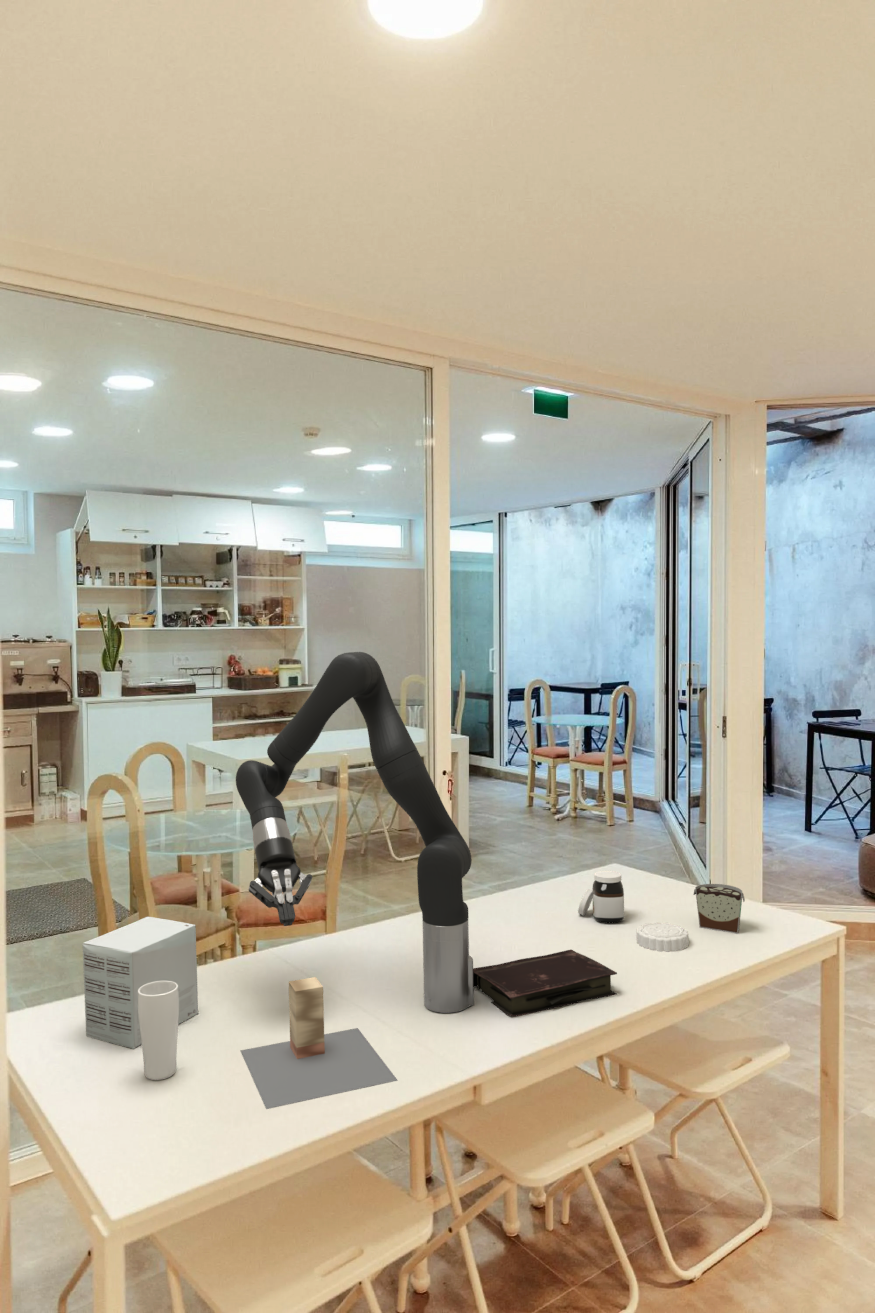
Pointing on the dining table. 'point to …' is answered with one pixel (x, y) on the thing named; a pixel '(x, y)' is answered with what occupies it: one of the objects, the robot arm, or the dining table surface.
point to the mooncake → (662, 937)
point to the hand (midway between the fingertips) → (288, 923)
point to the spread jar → (605, 898)
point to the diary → (543, 982)
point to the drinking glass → (159, 1027)
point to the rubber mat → (315, 1069)
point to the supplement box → (136, 975)
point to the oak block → (306, 1017)
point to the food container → (719, 907)
